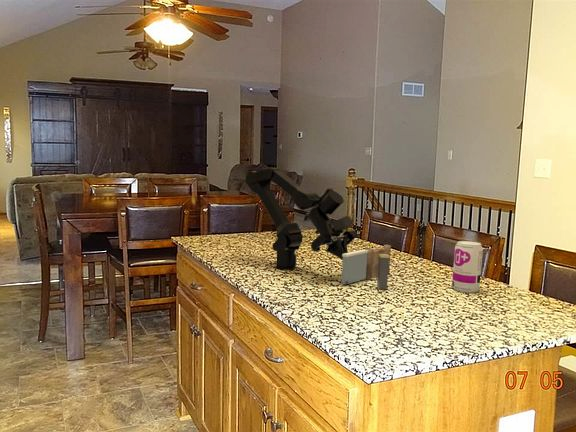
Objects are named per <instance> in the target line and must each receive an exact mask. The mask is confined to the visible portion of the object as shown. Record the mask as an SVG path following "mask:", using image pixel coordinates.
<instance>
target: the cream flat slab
mask: <svg viewBox="0 0 576 432" xmlns="http://www.w3.org/2000/svg"><path fill="white" fill-rule="evenodd" d="M367 253H368V250H364V249H360V250H355V251H350V252H349V251H348V253H344V254H342V256H343V260H342V265H341V281H340V283H341V285H342V286H347V285H349V284H352V283H355V282H359V281H363V280H365V279H366V267H367Z"/></svg>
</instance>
